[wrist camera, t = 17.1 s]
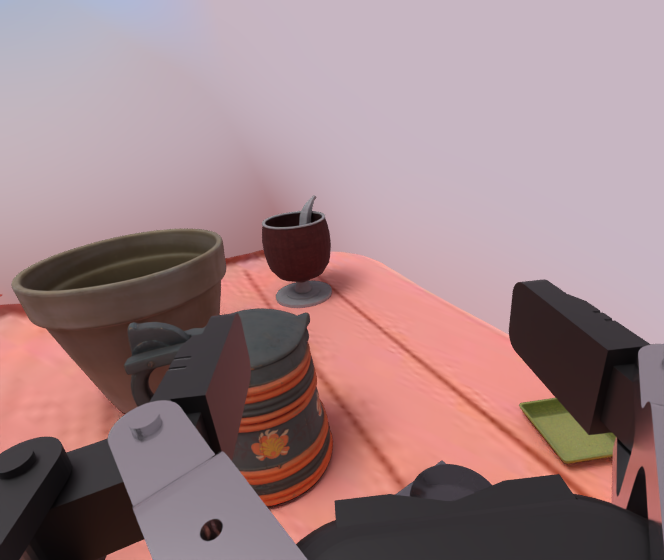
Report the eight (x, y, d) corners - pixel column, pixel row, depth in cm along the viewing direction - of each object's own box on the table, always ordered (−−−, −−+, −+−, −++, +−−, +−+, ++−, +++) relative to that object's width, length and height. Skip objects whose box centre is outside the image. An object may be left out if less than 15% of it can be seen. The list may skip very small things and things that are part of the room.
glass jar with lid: (455, 672, 25) (461, 571, 21) (396, 590, 30) (391, 494, 26) (509, 611, 28) (525, 510, 24) (447, 545, 33) (451, 450, 28)
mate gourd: (313, 314, 75) (300, 215, 67) (259, 303, 82) (241, 212, 74) (350, 283, 87) (342, 195, 79) (300, 276, 94) (288, 194, 86)
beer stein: (166, 557, 35) (91, 382, 27) (167, 444, 48) (115, 302, 40) (353, 477, 41) (336, 313, 33) (309, 395, 54) (289, 263, 46)
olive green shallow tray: (515, 415, 47) (517, 402, 46) (583, 405, 48) (586, 392, 47) (561, 476, 39) (564, 461, 38) (642, 463, 40) (646, 448, 39)
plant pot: (193, 326, 76) (163, 219, 67) (281, 365, 61) (258, 234, 52) (51, 401, 58) (-15, 270, 49) (127, 480, 43) (53, 313, 35)
